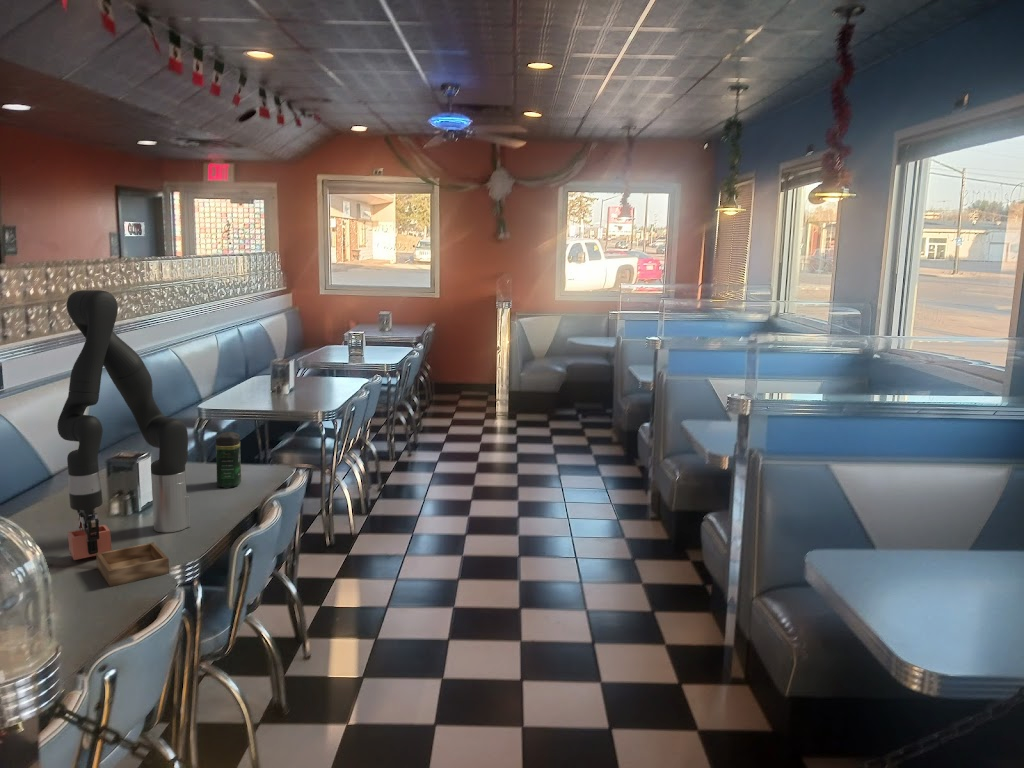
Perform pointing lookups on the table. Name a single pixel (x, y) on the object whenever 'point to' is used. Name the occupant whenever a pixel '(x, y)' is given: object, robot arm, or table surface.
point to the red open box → (79, 542)
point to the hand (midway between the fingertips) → (90, 549)
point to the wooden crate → (132, 564)
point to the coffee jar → (228, 459)
